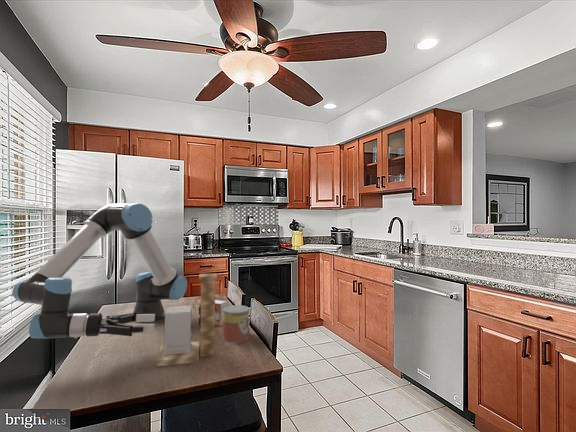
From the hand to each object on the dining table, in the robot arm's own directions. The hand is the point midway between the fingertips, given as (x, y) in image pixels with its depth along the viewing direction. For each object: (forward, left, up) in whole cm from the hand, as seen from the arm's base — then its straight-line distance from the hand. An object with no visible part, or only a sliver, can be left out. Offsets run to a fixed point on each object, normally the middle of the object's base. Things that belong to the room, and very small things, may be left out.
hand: (154, 322), depth 115 cm
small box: (-5, +39, -12) cm, 41 cm away
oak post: (+15, +12, -12) cm, 23 cm away
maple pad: (+8, +5, -12) cm, 15 cm away
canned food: (+14, +30, -12) cm, 35 cm away
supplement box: (+7, +5, -10) cm, 14 cm away
